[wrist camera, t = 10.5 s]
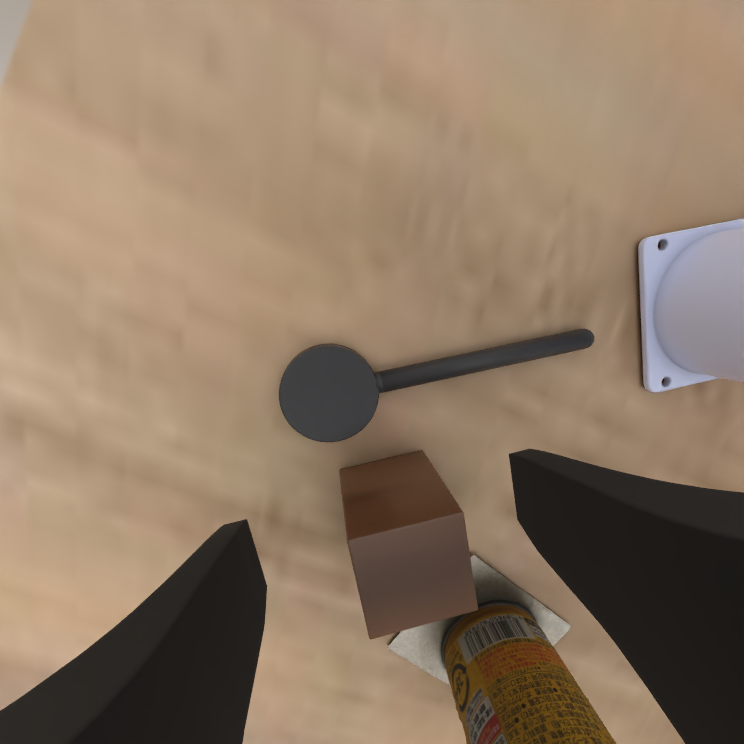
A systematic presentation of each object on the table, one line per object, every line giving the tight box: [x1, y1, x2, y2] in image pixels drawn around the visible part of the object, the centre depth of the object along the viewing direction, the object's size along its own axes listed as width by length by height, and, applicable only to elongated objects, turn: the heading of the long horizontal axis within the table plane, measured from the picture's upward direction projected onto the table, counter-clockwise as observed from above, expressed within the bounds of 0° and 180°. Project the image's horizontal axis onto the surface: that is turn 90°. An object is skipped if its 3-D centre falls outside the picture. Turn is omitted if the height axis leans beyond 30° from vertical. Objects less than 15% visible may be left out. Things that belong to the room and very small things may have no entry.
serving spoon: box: [279, 329, 594, 442], centre depth 19 cm, size 16×5×1 cm, turn 101°
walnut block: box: [339, 451, 478, 639], centre depth 18 cm, size 4×4×6 cm
